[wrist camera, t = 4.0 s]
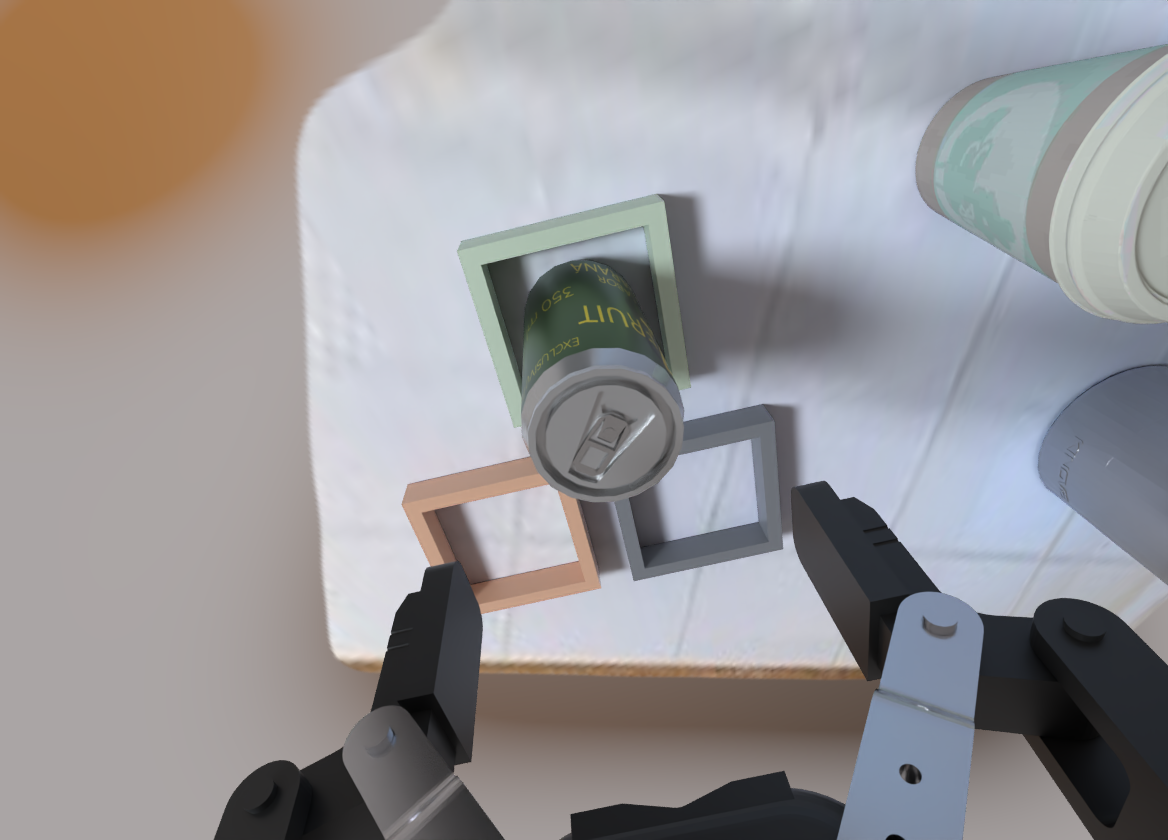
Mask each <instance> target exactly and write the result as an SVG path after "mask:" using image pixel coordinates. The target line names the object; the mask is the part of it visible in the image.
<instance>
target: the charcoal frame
mask: <svg viewBox="0 0 1168 840" xmlns="http://www.w3.org/2000/svg"><path fill="white" fill-rule="evenodd" d="M683 425H684V432H683V442H682V448H681V450H680V453H679V455H682V454H686V453H691V452H695V451H700V450H704V449H709V448H713V447H718V446H722V445H727V444H731V443H735V442H740V441H744V440H749V439H751V442H752V453H753V464H754V475H755V486H756V497H757V508H758V519H759V522H758V523H753V524H748V525H744V526H739V527H735V528H730V529H725V530H721V531H716V532H712V533H707V534H702V535H698V536H693V537H689V538H684V539H679V540H675V541H670V542H666V543H661V544H656V545H652V546H647V547H643V548H640V545H639V541H638V537H637V532H636V528H635V523H634V519H633V514H632V510H631V506H630V501H629V498H626V499H623V500H619V501H616V502H615V506H616V510H617V514H618V518H619V522H620V526H621V530H622V534H623V539H624V543H625V547H626V551H627V555H628V559H629V563H630V567H631V571H632V576H633V580H634V581H637V580H642V579H646V578H651V577H656V576H660V575H665V574H670V573H674V572H679V571H684V570H688V569H693V568H698V567H702V566H707V565H712V564H716V563H721V562H725V561H730V560H735V559H739V558H744V557H749V556H753V555H758V554H763V553H767V552H772V551H777V550H781V549H783V540H782V526H781V511H780V496H779V481H778V466H777V451H776V436H775V421H774V419H773V418H772V416H771V415H770V414H769V412H768V411H767V409H766V408H765V407H764V405H763V404H762V405H758V406H753V407H749V408H744V409H740V410H736V411H731V412H727V413H722V414H718V415H713V416H709V417H704V418H700V419H696V420H691V421H687V422H683Z"/></svg>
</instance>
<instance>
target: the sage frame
mask: <svg viewBox="0 0 1168 840" xmlns="http://www.w3.org/2000/svg"><path fill="white" fill-rule="evenodd" d="M641 226H644V232H645V238H646V244H647V250H648V256H649V263H650V269H651V275H652V281H653V287H654V293H655V299H656V305H657V311H658V317H659V324H660V330H661V336H662V342H663V348H664V354H665V360H666V363H667V365H668V367H669V369H670V371H671V373H672V376H673V378H674V380H675V382H676V384H677V386H678V388H679V390H682V389H687V388H691V384H690V377H689V370H688V363H687V356H686V349H685V342H684V335H683V328H682V321H681V314H680V307H679V301H678V294H677V287H676V280H675V273H674V266H673V259H672V252H671V245H670V238H669V231H668V224H667V217H666V210H665V203H664V200H662V199H661V198H660V197H659V196H658V195H657V194H654V195H650V196H646V197H642V198H638V199H634V200H630V201H625V202H621V203H617V204H613V205H609V206H605V207H601V208H597V209H593V210H588V211H584V212H580V213H576V214H572V215H568V216H564V217H560V218H555V219H551V220H547V221H543V222H539V223H535V224H531V225H527V226H523V227H518V228H514V229H510V230H506V231H502V232H498V233H494V234H490V235H485V236H481V237H477V238H473V239H469V240H465V241H461V243H460V246H459V248H458V250H457V253H458V256H459V259H460V262H461V265H462V268H463V271H464V274H465V277H466V280H467V283H468V286H469V290H470V293H471V296H472V299H473V302H474V305H475V308H476V311H477V314H478V317H479V320H480V324H481V327H482V330H483V333H484V336H485V339H486V342H487V345H488V348H489V351H490V354H491V357H492V361H493V364H494V367H495V370H496V373H497V376H498V379H499V382H500V385H501V388H502V391H503V394H504V398H505V401H506V404H507V407H508V410H509V413H510V416H511V419H512V422H513V425H514V428H516V427H520V426H522V425H521V400H522V379H521V376H520V373H519V369H518V366H517V363H516V359H515V356H514V353H513V349H512V346H511V343H510V340H509V336H508V333H507V330H506V326H505V323H504V320H503V316H502V313H501V310H500V306H499V303H498V300H497V297H496V293H495V290H494V287H493V283H492V280H491V277H490V273H489V270H488V267H487V263H491V262H496V261H500V260H504V259H508V258H512V257H516V256H521V255H525V254H529V253H533V252H537V251H541V250H545V249H550V248H554V247H558V246H562V245H566V244H570V243H575V242H579V241H583V240H587V239H591V238H595V237H599V236H604V235H608V234H612V233H616V232H620V231H624V230H629V229H633V228H637V227H641Z"/></svg>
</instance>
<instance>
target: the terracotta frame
mask: <svg viewBox="0 0 1168 840" xmlns="http://www.w3.org/2000/svg"><path fill="white" fill-rule="evenodd" d="M547 484H548V483H547V482H546V480H545V479H544V478H543V477H542V476H541V475H540V474H539V473H538V472H537V470H536V468H535V465H534V463H533V461H532V459H531V457H527V458H523V459H518V460H514V461H510V462H505V463H501V464H496V465H492V466H487V467H483V468H479V469H474V470H470V471H465V472H461V473H456V474H452V475H448V476H443V477H439V478H434V479H430V480H425V481H421V482H417V483H412V484H408V485H407V488H406V492H405V495H404V498H403V501H402V506H403V508H404V511H405V513H406V515H407V517H408V519H409V521H410V523H411V525H412V528H413V530H414V532H415V534H416V536H417V538H418V540H419V542H420V545H421V547H422V549H423V551H424V553H425V555H426V557H427V559H428V562H429V564H430V566H436V565H440V564H445V563H449V562H454V561H456V559H455V556H454V554H453V552H452V550H451V547H450V545H449V543H448V540H447V538H446V536H445V534H444V531H443V529H442V527H441V524H440V522H439V520H438V518H437V515H436V513H435V511H434V510H436V509H440V508H445V507H449V506H453V505H458V504H462V503H467V502H471V501H476V500H480V499H485V498H489V497H494V496H498V495H503V494H507V493H512V492H516V491H521V490H525V489H530V488H534V487H539V486H543V485H547ZM558 492H559V496H560V499H561V502H562V506H563V509H564V512H565V516H566V519H567V522H568V526H569V529H570V532H571V536H572V539H573V542H574V546H575V549H576V552H577V556H578V559H579V561H578V562H573V563H569V564H564V565H560V566H555V567H550V568H546V569H541V570H537V571H532V572H527V573H523V574H518V575H514V576H509V577H504V578H500V579H495V580H491V581H486V582H481V583H477V584H472V585H470V586H471V588H472V590H473V592H474V595H475V597H476V599H477V602H478V604H479V607H480V611H481V614H484V613H488V612H493V611H498V610H502V609H507V608H511V607H516V606H521V605H525V604H530V603H535V602H539V601H544V600H549V599H553V598H558V597H563V596H567V595H572V594H577V593H581V592H586V591H591V590H595V589H600V588H601V583H600V576H599V569H598V564H597V561H596V557H595V553H594V550H593V546H592V543H591V539H590V536H589V532H588V528H587V525H586V521H585V518H584V514H583V511H582V507H581V503H580V500H579V499H575V498H571V497H569V496H567V495H565V494H564V493H562V492H560V491H558Z"/></svg>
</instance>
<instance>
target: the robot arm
mask: <svg viewBox="0 0 1168 840" xmlns="http://www.w3.org/2000/svg"><path fill="white" fill-rule="evenodd" d="M1038 470H1039V474H1040V479H1041V480H1042V482H1043V483H1044V485H1045V486H1046V488H1047V489H1049V490H1050V491H1051V492H1052V493H1053V494H1055V495H1056V496H1057V497H1058V498H1060V499H1061V500H1062V501H1063V502H1065V503H1066V504H1067V505H1068V506H1070V507H1071V508H1072V509H1073V510H1075V511H1076V512H1077V513H1078V514H1080V515H1081V516H1082V517H1083V518H1085V519H1086V520H1087V521H1088V522H1089V523H1091V524H1092V525H1093V526H1094V527H1096V528H1097V529H1098V530H1099V531H1100V532H1101V533H1103V534H1104V535H1105V536H1106V537H1108V538H1109V539H1110V540H1111V541H1113V542H1114V543H1115V544H1116V545H1118V546H1119V547H1120V548H1122V549H1123V550H1124V551H1125V552H1127V553H1128V554H1129V555H1130V556H1132V557H1133V558H1134V559H1135V560H1137V561H1138V562H1139V563H1140V564H1142V565H1143V566H1144V567H1145V568H1147V569H1148V570H1149V571H1150V572H1152V573H1153V574H1154V575H1155V576H1157V577H1158V578H1159V579H1160V580H1162V581H1163V582H1164V583H1165V584H1167V585H1168V367H1166V366H1145V367H1141V368H1136V369H1131V370H1128V371H1125V372H1122V373H1120V374H1117V375H1114V376H1112V377H1110V378H1108V379H1106V380H1104V381H1102V382H1100V383H1099V384H1097V385H1095V386H1093V387H1092V388H1090V389H1089V390H1088V391H1086V392H1085V393H1083V394H1082V395H1081V396H1079V397H1078V398H1077V399H1076V400H1074V401H1073V402H1072V403H1071V404H1070V405H1069V406H1068V407H1067V408H1066V409H1065V410H1064V411H1063V412H1062V413H1061V414H1060V416H1059V417H1058V418H1057V420H1056V421H1055V422H1054V423H1053V425H1052V426H1051V428H1050V429H1049V431H1048V433H1047V435H1046V437H1045V438H1044V440H1043V443H1042V446H1041V449H1040V452H1039V458H1038ZM791 505H792V524H793V538H794V544H795V548H796V551H797V554H798V557H799V559H800V561H801V563H802V565H803V567H804V569H805V571H806V572H807V574H808V576H809V578H810V580H811V581H812V583H813V585H814V587H815V589H816V590H817V592H818V594H819V596H820V597H821V599H822V601H823V603H824V605H825V606H826V608H827V610H828V612H829V614H830V615H831V617H832V619H833V621H834V622H835V624H836V626H837V628H838V630H839V631H840V633H841V635H842V637H843V639H844V640H845V642H846V644H847V646H848V648H849V649H850V651H851V653H852V655H853V656H854V658H855V660H856V662H857V664H858V665H859V667H860V669H861V671H862V673H863V674H864V676H865V678H866V680H867V681H872V680H877V679H881V682H880V685H879V689H876V690H875V692H874V694H873V698H872V701H871V705H870V709H869V713H868V717H867V721H866V725H865V730H864V733H863V737H862V741H861V745H860V749H859V753H858V758H857V761H856V765H855V769H854V773H853V777H852V781H851V785H850V789H849V793H848V797H847V801H846V805H845V804H843V803H841V802H839V801H837V800H835V799H833V798H830V797H828V796H825V795H822V794H819V793H816V792H813V791H808V790H803V789H795V788H790V785H789V782H788V779H787V777H786V774H785V772H784V771H782V772H776V773H771V774H767V775H762V776H757V777H752V778H747V779H742V780H737V781H732V782H730V783H728V784H726V785H724V786H722V787H720V788H718V789H716V790H714V791H712V792H710V793H709V794H707V795H705V796H703V797H701V798H699V799H697V800H695V801H693V802H692V803H689V804H687V805H685V806H683V807H679V808H670V807H657V806H644V805H633V804H618V805H613V806H609V807H604V808H599V809H594V810H589V811H584V812H579V813H574V814H571V832H572V833H570V834H568V835H566V836H564V837H563V838H561V839H560V840H962V839H963V831H964V821H965V812H966V803H967V794H968V784H969V776H970V766H971V757H972V747H973V739H974V729H982V730H991V731H1000V732H1010V733H1018V734H1023V736H1024V737H1025V739H1026V740H1027V741H1028V743H1029V744H1030V746H1031V747H1032V749H1033V750H1034V752H1035V753H1036V755H1037V756H1038V758H1039V759H1040V761H1041V762H1042V763H1043V765H1044V766H1045V768H1046V770H1047V771H1048V772H1049V774H1050V775H1051V777H1052V778H1053V780H1054V781H1055V783H1056V784H1057V786H1058V787H1059V789H1060V790H1061V792H1062V793H1063V795H1064V796H1065V797H1066V799H1067V801H1068V802H1069V803H1070V805H1071V806H1072V808H1073V809H1074V811H1075V812H1076V814H1077V815H1078V817H1079V818H1080V820H1081V821H1082V823H1083V824H1084V826H1085V827H1086V829H1087V830H1088V832H1089V833H1090V834H1091V836H1092V837H1093V839H1094V840H1168V665H1167V664H1166V663H1165V662H1164V661H1163V660H1162V659H1161V658H1160V657H1159V656H1158V655H1157V654H1156V653H1155V652H1154V651H1153V650H1152V649H1151V648H1150V647H1149V646H1148V645H1147V644H1146V643H1145V642H1144V641H1143V640H1142V639H1141V638H1140V637H1139V636H1138V635H1137V634H1136V633H1135V632H1134V631H1133V630H1132V629H1131V628H1130V627H1129V626H1128V625H1127V624H1126V623H1125V622H1124V621H1123V620H1121V619H1120V618H1119V617H1118V616H1116V615H1115V614H1114V613H1112V612H1110V611H1109V610H1107V609H1105V608H1103V607H1101V606H1098V605H1096V604H1093V603H1090V602H1087V601H1083V600H1078V599H1071V598H1059V599H1053V600H1049V601H1046V602H1044V603H1042V604H1041V605H1040V606H1039V607H1038V608H1037V609H1036V611H1035V613H1034V617H1033V618H1027V617H1010V616H994V615H986V614H981V613H977V612H976V611H975V610H974V609H973V608H972V607H971V606H969V605H968V604H966V603H965V602H963V601H962V600H960V599H958V598H956V597H953V596H951V595H947V594H944V593H941V592H940V591H939V590H938V588H937V587H936V586H935V585H934V583H933V582H932V581H931V580H930V578H929V577H928V576H927V575H926V573H925V572H924V571H923V570H922V568H921V567H920V566H919V565H918V563H917V562H916V561H915V560H914V558H913V557H912V556H911V555H910V553H909V552H908V551H907V550H906V548H905V547H904V546H903V545H902V543H901V542H898V538H897V537H896V536H895V535H894V533H893V532H892V531H891V530H890V528H889V529H888V527H887V525H886V523H885V522H884V521H883V520H882V518H881V517H880V516H879V515H878V513H877V512H876V511H875V510H874V509H873V508H871V507H870V506H868V505H866V504H865V503H863V502H861V501H860V500H858V499H856V498H855V497H852V498H847V499H843V500H840V499H839V498H838V496H837V495H836V493H835V492H834V491H833V489H832V488H831V487H830V485H829V484H828V483H827V482H826V481H820V482H815V483H811V484H806V485H802V486H797V487H793V488H792V490H791ZM482 631H483V625H482V616H481V611H480V607H479V604H478V602H477V599H476V597H475V595H474V592H473V590H472V588H471V586H470V583H469V581H468V579H467V576H466V574H465V572H464V570H463V567H462V565H461V564H460V562H459V561H454V562H449V563H445V564H440V565H436V566H431V567H428V568H426V570H425V573H424V577H423V582H422V587H421V591H419V592H415V593H410V594H408V595H407V597H406V598H405V600H404V601H403V603H402V604H401V606H400V607H399V609H398V610H397V612H396V614H395V618H394V622H393V626H392V630H391V634H392V635H391V636H390V638H389V642H388V646H387V649H388V651H386V654H385V658H384V662H383V666H382V670H381V674H380V678H379V682H378V686H377V690H376V694H375V697H374V702H373V705H372V709H371V712H370V713H369V714H367V715H366V716H364V717H363V718H362V719H361V720H360V721H359V722H358V723H357V724H356V725H355V726H354V728H353V729H352V730H351V731H350V733H349V735H348V737H347V738H346V741H345V744H344V747H342V748H341V749H339V750H338V751H336V752H334V753H332V754H331V755H328V756H327V757H325V758H323V759H321V760H319V761H317V762H315V763H313V764H311V765H310V766H307V767H306V768H304V769H302V770H299V769H298V768H297V767H296V766H295V765H294V764H293V763H292V762H290V761H285V760H279V761H274V762H271V763H268V764H266V765H264V766H262V767H260V768H258V769H257V770H255V771H254V772H253V773H251V774H250V775H249V776H248V777H247V778H246V779H245V780H243V782H242V783H241V784H240V785H239V786H238V787H237V788H236V790H235V791H234V793H233V794H232V796H231V797H230V799H229V801H228V803H227V805H226V808H225V811H224V813H223V816H222V819H221V821H220V824H219V827H218V830H217V833H216V835H215V838H214V840H505V839H504V838H503V836H502V835H501V834H500V832H499V831H498V830H497V828H496V827H495V825H494V824H493V823H492V822H491V820H490V819H489V817H488V816H487V815H486V813H485V812H484V811H483V809H482V808H481V806H480V805H479V804H478V802H477V801H476V800H475V798H474V797H473V796H472V794H471V793H470V792H469V790H468V789H467V787H466V786H465V785H464V783H463V782H462V781H461V780H460V779H459V777H458V776H455V775H454V765H458V764H463V763H468V762H471V758H472V747H473V736H474V724H475V713H476V712H475V711H476V701H477V689H478V677H479V666H480V655H481V643H482Z"/></svg>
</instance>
